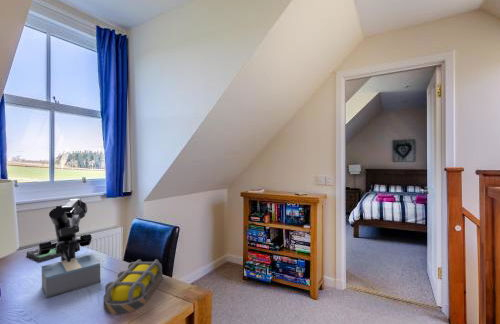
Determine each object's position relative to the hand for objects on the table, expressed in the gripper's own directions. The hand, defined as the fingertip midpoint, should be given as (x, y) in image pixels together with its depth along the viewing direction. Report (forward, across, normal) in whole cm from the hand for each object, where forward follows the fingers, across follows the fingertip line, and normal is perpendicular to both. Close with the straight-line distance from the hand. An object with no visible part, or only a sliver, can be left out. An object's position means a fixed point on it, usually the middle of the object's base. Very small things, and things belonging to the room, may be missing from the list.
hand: (69, 261), depth 111 cm
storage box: (+8, 0, +4) cm, 9 cm away
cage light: (+26, +17, -12) cm, 33 cm away
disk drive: (-24, -4, +36) cm, 44 cm away
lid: (+3, 0, -1) cm, 4 cm away
